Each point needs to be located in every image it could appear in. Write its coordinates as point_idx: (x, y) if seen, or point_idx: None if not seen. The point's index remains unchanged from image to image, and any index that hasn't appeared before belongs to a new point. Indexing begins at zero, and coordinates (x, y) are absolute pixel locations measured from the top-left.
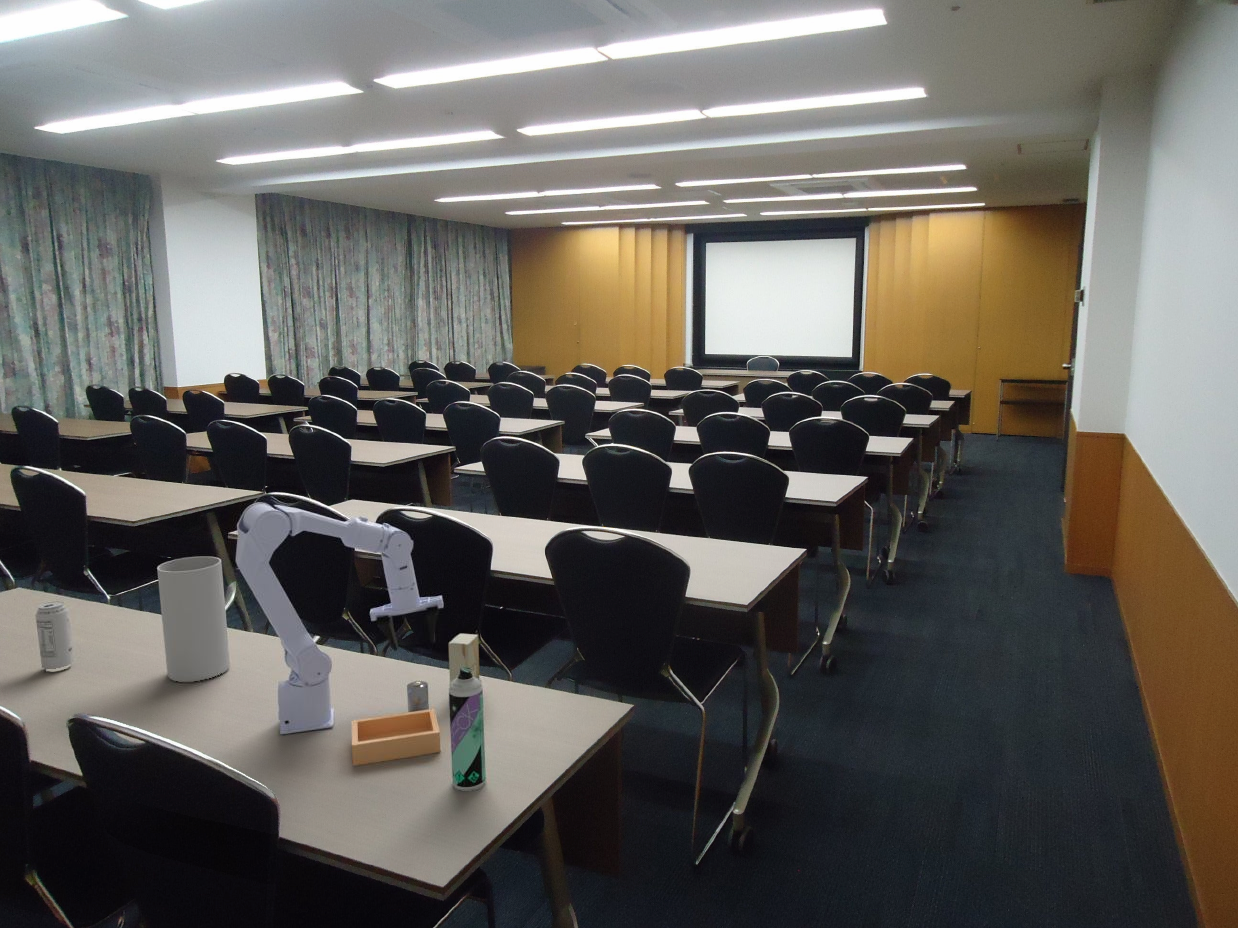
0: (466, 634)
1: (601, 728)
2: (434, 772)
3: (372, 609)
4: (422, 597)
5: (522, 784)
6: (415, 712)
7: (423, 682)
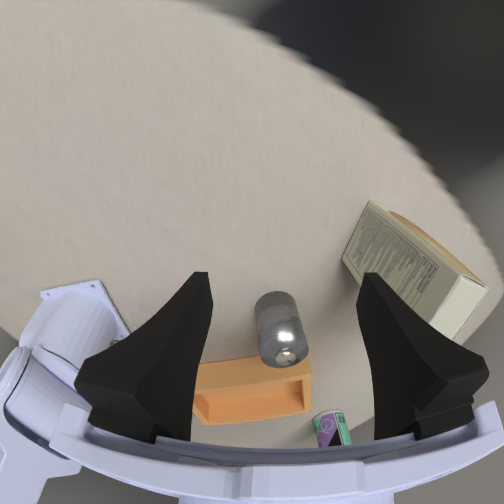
0: (470, 288)
1: (468, 334)
2: None
3: (59, 449)
4: (428, 478)
5: (368, 411)
6: (278, 381)
7: (298, 343)
